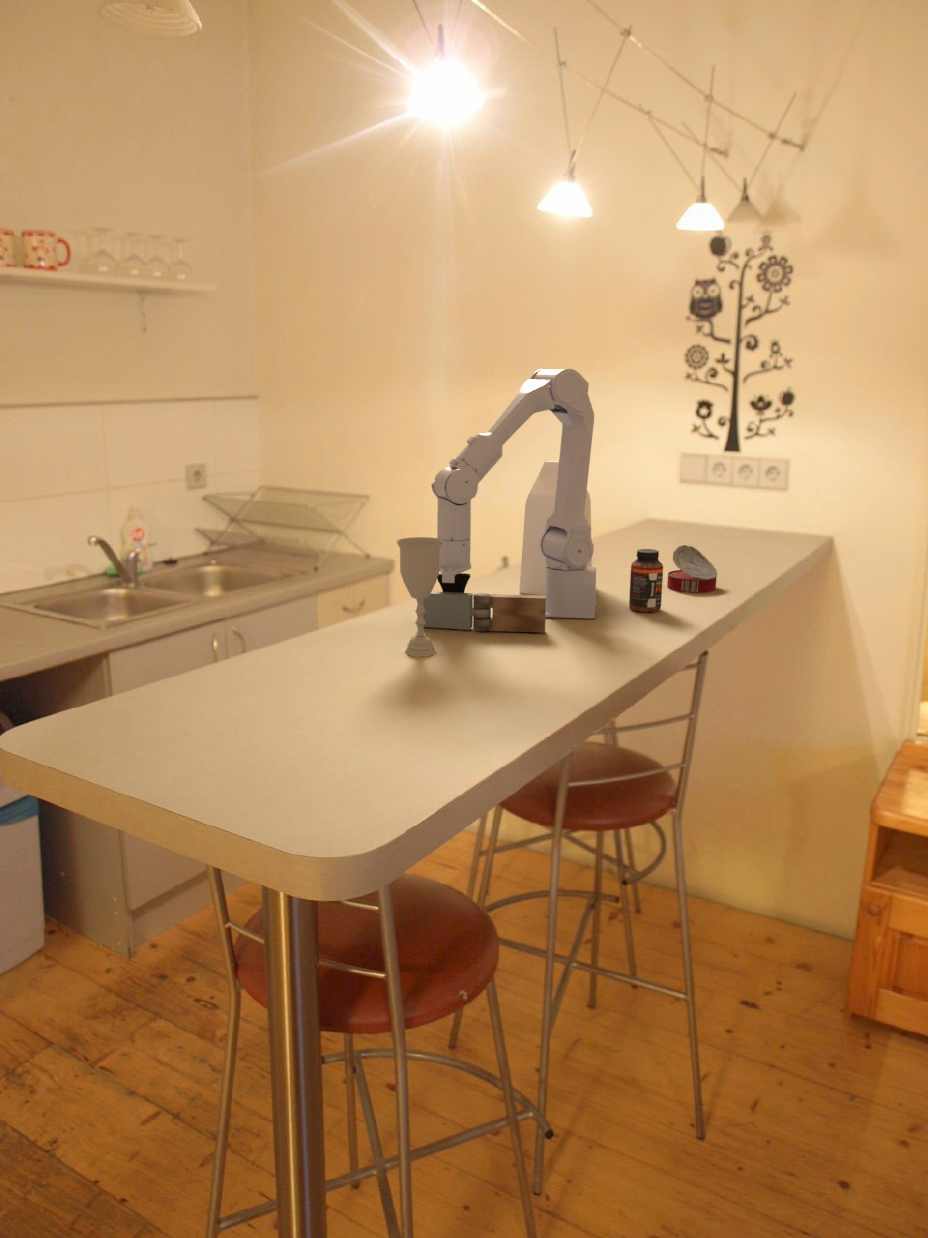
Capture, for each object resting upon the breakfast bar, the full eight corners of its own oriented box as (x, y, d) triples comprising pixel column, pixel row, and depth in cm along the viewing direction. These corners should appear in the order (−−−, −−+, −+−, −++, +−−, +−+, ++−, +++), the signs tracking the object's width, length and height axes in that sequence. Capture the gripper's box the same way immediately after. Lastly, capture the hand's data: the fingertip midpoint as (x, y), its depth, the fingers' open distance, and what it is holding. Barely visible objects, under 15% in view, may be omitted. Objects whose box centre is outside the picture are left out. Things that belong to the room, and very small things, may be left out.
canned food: (700, 605, 211) (725, 564, 209) (707, 611, 201) (733, 568, 200) (653, 579, 211) (677, 538, 210) (658, 584, 201) (683, 541, 200)
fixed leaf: (545, 628, 173) (546, 595, 171) (544, 633, 170) (545, 598, 168) (474, 626, 174) (474, 592, 173) (472, 630, 171) (472, 596, 170)
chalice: (408, 660, 155) (407, 546, 151) (391, 649, 161) (389, 539, 157) (450, 654, 159) (450, 542, 154) (432, 643, 164) (431, 535, 160)
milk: (519, 593, 201) (521, 463, 195) (537, 581, 211) (539, 458, 205) (576, 598, 197) (581, 465, 190) (592, 586, 207) (596, 460, 201)
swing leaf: (492, 627, 174) (492, 593, 172) (488, 631, 171) (488, 597, 169) (423, 622, 176) (423, 589, 175) (418, 627, 174) (418, 593, 172)
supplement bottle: (660, 614, 184) (664, 553, 181) (628, 612, 185) (630, 552, 183) (661, 606, 190) (664, 548, 187) (629, 605, 191) (632, 546, 188)
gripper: (437, 530, 179) (437, 604, 183) (424, 544, 165) (424, 624, 169) (476, 531, 178) (475, 605, 182) (466, 546, 164) (465, 625, 168)
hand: (453, 614), depth 175 cm, fingers closed, pressing on swing leaf
